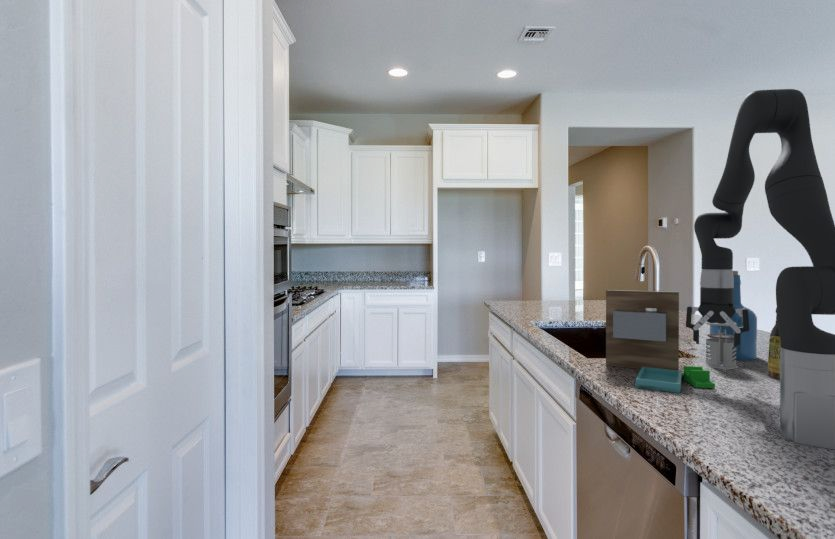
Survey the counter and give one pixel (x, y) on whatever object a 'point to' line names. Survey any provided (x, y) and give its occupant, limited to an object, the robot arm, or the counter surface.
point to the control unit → (640, 324)
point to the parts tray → (659, 379)
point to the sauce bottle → (774, 352)
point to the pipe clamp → (697, 377)
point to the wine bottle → (747, 339)
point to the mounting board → (643, 351)
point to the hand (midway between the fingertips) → (716, 345)
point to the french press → (720, 349)
